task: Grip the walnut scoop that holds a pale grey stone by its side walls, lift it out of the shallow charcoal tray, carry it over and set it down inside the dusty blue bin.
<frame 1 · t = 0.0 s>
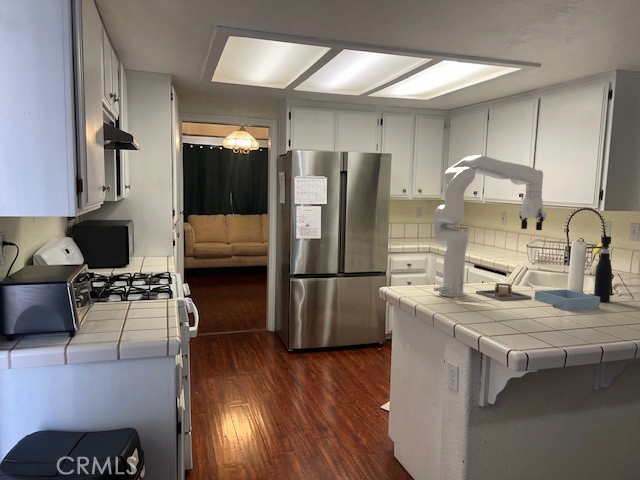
hand: (531, 229, 241), 31 cm above the table, tool pointing down, fingers open, 9 cm apart
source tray: (502, 298, 223), on the table
stone: (503, 294, 224), point 2 cm above the table, touching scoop
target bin: (566, 305, 212), on the table
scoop: (502, 296, 223), point 1 cm above the table, touching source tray, stone
dark water bottle: (601, 301, 223), on the table
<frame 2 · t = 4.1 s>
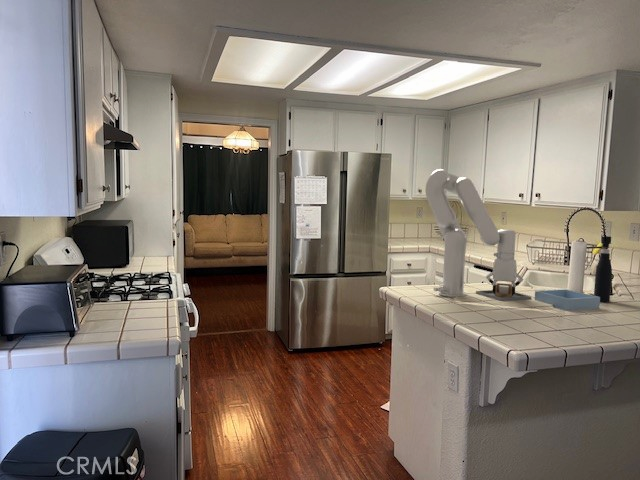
hand: (503, 294, 223), 2 cm above the table, tool pointing down, fingers closed on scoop, 7 cm apart
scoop: (503, 296, 223), point 1 cm above the table, touching gripper, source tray, stone
everything else where it was.
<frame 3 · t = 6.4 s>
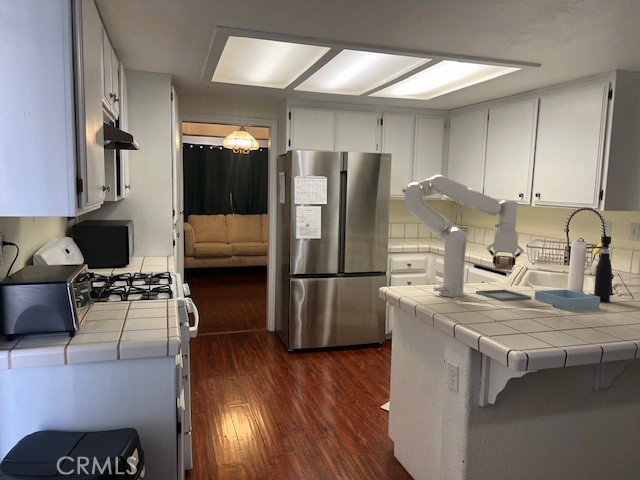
hand: (503, 265, 222), 15 cm above the table, tool pointing down, fingers closed on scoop, 7 cm apart
stone: (503, 266, 223), point 15 cm above the table, touching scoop
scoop: (503, 267, 222), point 14 cm above the table, touching gripper, stone
everything else where it was.
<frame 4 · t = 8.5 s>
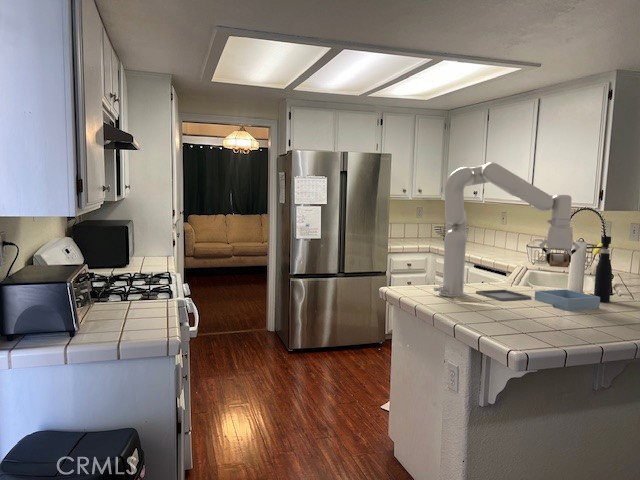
hand: (558, 263, 212), 18 cm above the table, tool pointing down, fingers closed on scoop, 7 cm apart
stone: (557, 263, 213), point 18 cm above the table, touching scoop
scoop: (557, 265, 212), point 17 cm above the table, touching gripper, stone
everything else where it was.
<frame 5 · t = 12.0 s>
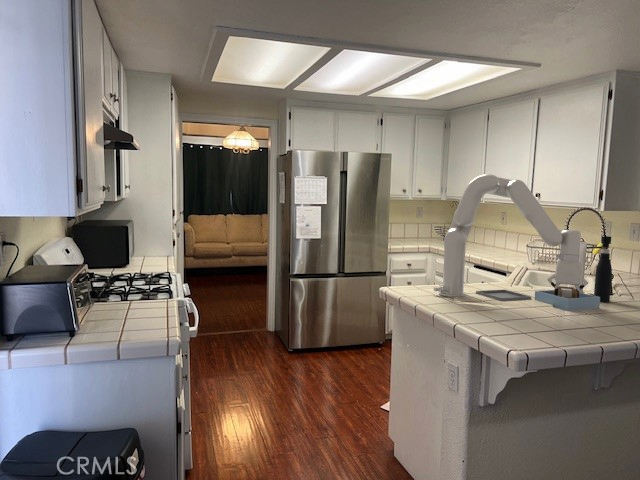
hand: (566, 298, 212), 3 cm above the table, tool pointing down, fingers closed on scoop, 6 cm apart
stone: (565, 298, 213), point 3 cm above the table, touching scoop
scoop: (566, 300, 212), point 2 cm above the table, touching gripper, stone
everything else where it was.
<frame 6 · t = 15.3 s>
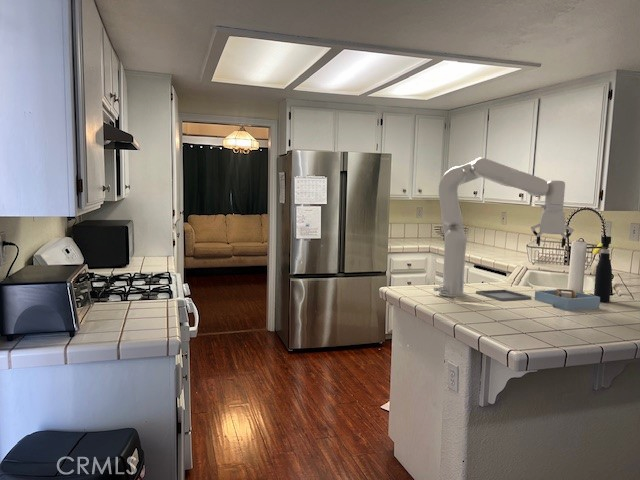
hand: (550, 246, 216), 25 cm above the table, tool pointing down, fingers open, 9 cm apart
stone: (565, 301, 213), point 2 cm above the table, touching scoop
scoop: (565, 302, 212), point 1 cm above the table, touching stone, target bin
everything else where it was.
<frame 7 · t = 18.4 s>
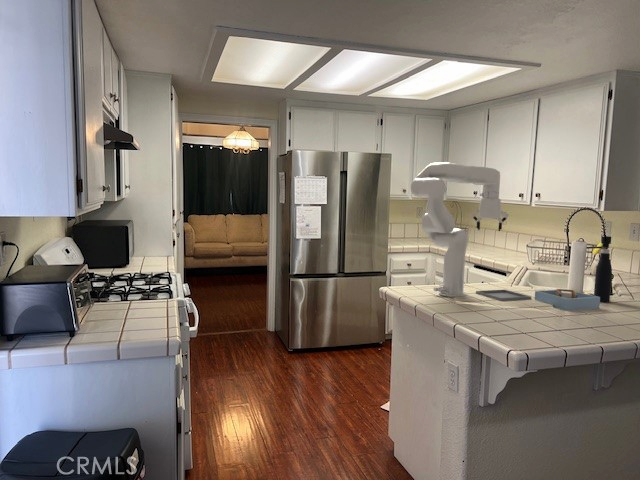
hand: (488, 230, 239), 30 cm above the table, tool pointing down, fingers open, 9 cm apart
nothing on the table moved.
at the end: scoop inside the target area on the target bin (0.2 cm from its centre), point 1.0 cm above the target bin's base; stone inside the target area on the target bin (0.9 cm from its centre), point 1.6 cm above the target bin's base; stone 1.0 cm from the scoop (horizontally) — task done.
